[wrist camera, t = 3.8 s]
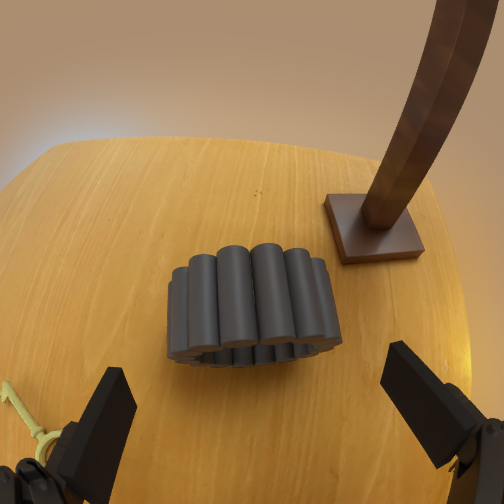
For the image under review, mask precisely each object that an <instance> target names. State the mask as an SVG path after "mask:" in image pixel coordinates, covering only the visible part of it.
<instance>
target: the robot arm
mask: <svg viewBox="0 0 504 504" xmlns="http://www.w3.org/2000/svg"><path fill="white" fill-rule="evenodd" d="M380 384H381V386H382V387H383V389H384V390H385V391H386V393H387V394H388V396H389V397H390V399H391V400H392V402H393V403H394V405H395V406H396V408H397V409H398V411H399V412H400V414H401V415H402V417H403V418H404V420H405V421H406V423H407V424H408V426H409V427H410V429H411V430H412V432H413V433H414V435H415V436H416V438H417V439H418V441H419V442H420V444H421V445H422V447H423V448H424V450H425V451H426V453H427V455H428V456H429V458H430V459H431V461H432V462H433V464H434V466H435V467H436V469H438V468H440V467H442V466H443V465H445V464H447V463H449V462H450V461H451V460H452V458H453V457H454V456H455V455H457V457H458V459H457V460H456V461H455V462H454V464H453V465H452V466H451V467H450V469H449V471H448V472H451V470H452V469H453V468H454V467H455V470H454V471H453V472H454V475H453V480H452V484H451V488H450V493H449V496H448V500H447V504H504V421H500V420H499V419H495V418H490V419H487V418H486V417H485V416H484V415H483V414H482V413H481V412H480V411H479V410H478V409H477V408H476V406H475V405H474V404H473V403H472V402H471V401H470V400H468V398H467V397H466V396H465V395H463V392H462V391H461V390H460V389H459V388H458V387H456V386H455V385H453V384H451V383H449V382H448V383H446V384H443V383H442V382H441V381H440V379H439V378H438V377H437V376H436V375H435V374H434V373H433V372H432V371H431V370H430V369H429V368H428V367H427V366H426V365H425V364H424V362H423V361H422V360H421V359H420V358H419V357H418V356H417V355H416V354H415V353H414V352H413V351H412V350H411V349H410V348H409V347H408V346H407V345H406V344H405V343H404V342H403V341H402V340H401V341H397V342H393V343H390V345H389V350H388V354H387V358H386V362H385V366H384V370H383V374H382V377H381V381H380ZM136 409H137V405H136V402H135V400H134V398H133V395H132V393H131V390H130V388H129V386H128V383H127V380H126V378H125V375H124V373H123V370H122V368H119V367H108V368H107V370H106V372H105V373H104V375H103V377H102V379H101V381H100V382H99V384H98V386H97V388H96V390H95V392H94V393H93V395H92V397H91V399H90V401H89V403H88V405H87V407H86V409H85V411H84V413H83V415H82V417H81V418H80V420H79V422H78V423H77V422H73V421H71V422H70V423H69V424H68V425H66V426H65V427H64V428H63V430H62V432H61V434H60V436H59V437H60V438H58V440H57V442H56V445H55V446H54V448H53V450H52V452H51V454H50V456H49V458H48V460H47V463H46V465H45V467H43V466H42V465H41V464H40V463H39V462H38V461H37V460H35V459H33V458H24V459H22V460H20V462H19V463H18V464H17V466H16V474H15V473H14V472H13V471H12V470H11V469H10V468H9V467H7V466H0V504H83V502H84V499H85V500H86V501H87V502H89V503H90V504H109V500H110V496H111V492H112V488H113V485H114V481H115V477H116V474H117V470H118V467H119V463H120V460H121V457H122V453H123V450H124V447H125V443H126V440H127V437H128V434H129V431H130V428H131V425H132V421H133V418H134V415H135V412H136Z"/></svg>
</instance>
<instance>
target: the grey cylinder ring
mask: <svg viewBox="0 0 504 504" xmlns="http://www.w3.org/2000/svg"><path fill="white" fill-rule="evenodd" d="M250 259H251V263H250ZM251 270H252V273H251ZM252 280H253V284H252ZM253 290H254V294H253ZM254 300H255V304H254ZM341 343H342V337H341V331H340V326H339V321H338V315H337V310H336V306H335V301H334V296H333V291H332V287H331V282H330V278H329V273H328V271H327V269H326V265H325V261H324V260H323V259H321V258H310V254H309V252H308V251H307V250H306V249H303V248H293V249H289V250H286V251H284V252H283V250H282V248H281V246H279V245H277V244H274V243H264V244H260V245H257V246H255V247H254V248H253V249H252V250H251V251H250V253H249V251H248V249H246V248H245V247H242V246H236V245H233V246H227V247H224V248H222V249H220V250H219V251H218V252H217V257H215V256H213V255H208V254H201V255H196V256H193V257H192V258H191V259H190V260H189V267H179V268H176V269H175V270H174V271H173V272H172V281H171V282H169V284H168V308H167V358H169V359H172V360H175V362H176V363H181V364H190V365H191V366H210V367H214V368H222V367H230V366H231V367H249V366H253V365H256V366H263V365H271V364H275V363H277V362H278V363H282V362H290V361H295V360H298V359H299V358H307V357H312V356H316V355H318V354H319V353H321V352H326V351H330V350H332V349H334V346H337V345H340V344H341ZM252 346H253V349H252ZM253 357H254V360H253Z"/></svg>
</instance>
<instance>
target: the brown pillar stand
mask: <svg viewBox="0 0 504 504" xmlns="http://www.w3.org/2000/svg"><path fill="white" fill-rule="evenodd" d="M498 1H499V0H437V2H436V6H435V10H434V14H433V18H432V23H431V26H430V30H429V33H428V37H427V41H426V44H425V48H424V51H423V54H422V57H421V61H420V64H419V67H418V70H417V73H416V76H415V79H414V82H413V84H412V87H411V90H410V93H409V96H408V98H407V101H406V104H405V107H404V109H403V112H402V115H401V117H400V120H399V122H398V125H397V127H396V130H395V132H394V135H393V137H392V139H391V142H390V144H389V147H388V149H387V151H386V154H385V156H384V158H383V160H382V163H381V165H380V167H379V169H378V172H377V174H376V176H375V178H374V180H373V183H372V185H371V187H370V189H369V191H368V193H367V194H327V196H326V199H325V202H324V203H325V206H326V210H327V213H328V216H329V219H330V223H331V226H332V229H333V233H334V236H335V240H336V243H337V247H338V251H339V254H340V258H341V262H342V264H350V263H361V262H371V261H382V260H392V259H402V258H411V257H419V256H420V255H421V254H422V253H423V252H424V251H425V249H424V247H423V244H422V242H421V239H420V237H419V234H418V232H417V230H416V227H415V225H414V223H413V221H412V218H411V216H410V214H409V212H408V210H407V208H406V206H407V205H408V203H409V202H410V200H411V199H412V197H413V195H414V194H415V192H416V191H417V189H418V187H419V186H420V184H421V182H422V181H423V179H424V177H425V176H426V174H427V172H428V170H429V169H430V167H431V165H432V164H433V162H434V160H435V158H436V156H437V155H438V152H439V151H440V149H441V147H442V145H443V143H444V142H445V140H446V138H447V136H448V134H449V132H450V130H451V128H452V126H453V124H454V122H455V120H456V118H457V116H458V114H459V112H460V109H461V107H462V105H463V103H464V100H465V99H466V96H467V94H468V92H469V90H470V87H471V85H472V82H473V80H474V77H475V75H476V72H477V70H478V67H479V65H480V62H481V59H482V56H483V54H484V50H485V48H486V45H487V42H488V39H489V35H490V32H491V28H492V25H493V21H494V18H495V14H496V10H497V5H498Z"/></svg>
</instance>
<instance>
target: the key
mask: <svg viewBox="0 0 504 504" xmlns="http://www.w3.org/2000/svg"><path fill="white" fill-rule="evenodd" d="M2 387H3V388H2V390H1V392H0V397H1V399H2V400H1V401H2V402H3V403H6V401H7V400H8V398H9V399H10V400H11V402H12V404H13V405H14V407H15V408H16V410H17V411H18V413H19V414H20V416H21V417H22V419H23V420H24V422H25V423H26V424H27V426H28V427H29V429H30V430H31V431H32V432H31V436H32V437H33V438H37V439H38V441H39V444H38V446H37V448H36V451H35V460H37V461H38V462H39V463H40V464H41V465H42V466H43V467H45V465H46V462H45V454H46V450H47V448H48V446H49V445H50V443H51V442H52V441H53V440H54V439H56V438H59V436H60V434H61V432H62V430H54V431H52V432H50V433H48V434H47V435H45V433H44V432H45V428H44V427H43V426H39V425H38V424H37V423H36V421H35V420H34V419H33V417H32V416H31V415H30V413H29V412H28V410H27V409H26V407H25V406H24V404H23V403H22V401H21V400H20V398H19V397H18V395H17V394H16V392H15V390H14V389H13V387H12V385H11V384H10V382H9V381H4V382H3V383H2Z"/></svg>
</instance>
